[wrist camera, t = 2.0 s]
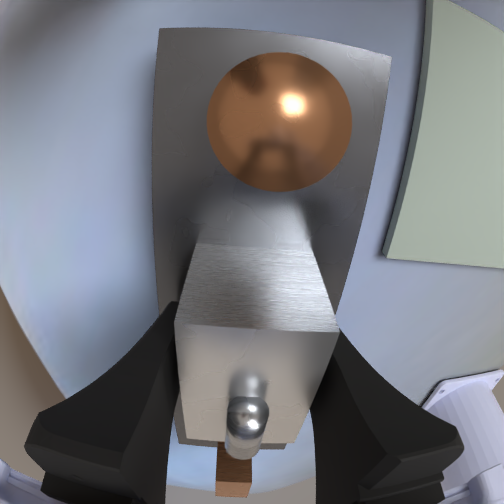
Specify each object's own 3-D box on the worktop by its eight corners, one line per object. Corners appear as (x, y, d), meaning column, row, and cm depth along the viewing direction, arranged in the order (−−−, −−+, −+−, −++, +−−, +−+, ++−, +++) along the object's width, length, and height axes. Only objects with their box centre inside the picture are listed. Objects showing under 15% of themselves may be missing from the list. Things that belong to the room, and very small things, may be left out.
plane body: (281, 420, 20) (288, 500, 15) (183, 414, 20) (172, 495, 14) (364, 61, 10) (468, 50, 4) (177, 39, 9) (104, -3, 4)
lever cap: (285, 367, 14) (296, 467, 9) (197, 362, 14) (183, 463, 9) (312, 252, 11) (350, 365, 7) (196, 243, 11) (164, 356, 6)
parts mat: (512, 264, 14) (518, 269, 14) (381, 251, 14) (386, 258, 13) (558, 78, 9) (565, 79, 8) (426, -5, 8) (433, -7, 8)
